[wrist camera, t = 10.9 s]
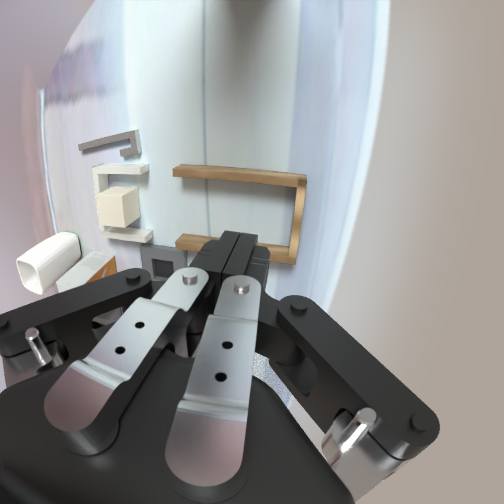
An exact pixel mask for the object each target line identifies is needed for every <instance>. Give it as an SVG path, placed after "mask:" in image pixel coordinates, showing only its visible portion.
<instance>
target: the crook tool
mask: <svg viewBox="0 0 504 504" xmlns="http://www.w3.org/2000/svg"><path fill="white" fill-rule="evenodd" d="M125 139H130V143H131V147H130V148H125V149H121V150H120V155H121V157H122V156H127V155H132V154H138V153H141V152H142V151H141V144H140V137H139V130H134V131H129V132H125V133H120V134H116V135H112V136H108V137H104V138H100V139H97V140H93V141H89V142H86V143H82V144H79V145H78V146H79V151H80V150H84V149H88V148H92V147H95V146H99V145H103V144H107V143H112V142H116V141H120V140H125Z"/></svg>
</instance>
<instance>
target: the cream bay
mask: <svg viewBox="0 0 504 504" xmlns="http://www.w3.org/2000/svg"><path fill="white" fill-rule="evenodd" d="M92 169H93V181H94V191H95V200H96V208H97V215H98V222H99V229H100V235H101V237H105V238H113V239H120V240H127V241H134V242H141V243H146V242H148V241H149V240H150V239H151V238H152V237H153V230H148V229H140V228H131V227H126V228H122V227H113V226H104V225H100V220H99V213H98V206H97V197H96V195H97V194H99V193H101V192H103V191H105V190H107V189H109V183H108V174H143V173H145V172H147V171H149V164H148V163H110V164H100V165H97V166H95V167H92Z"/></svg>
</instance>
